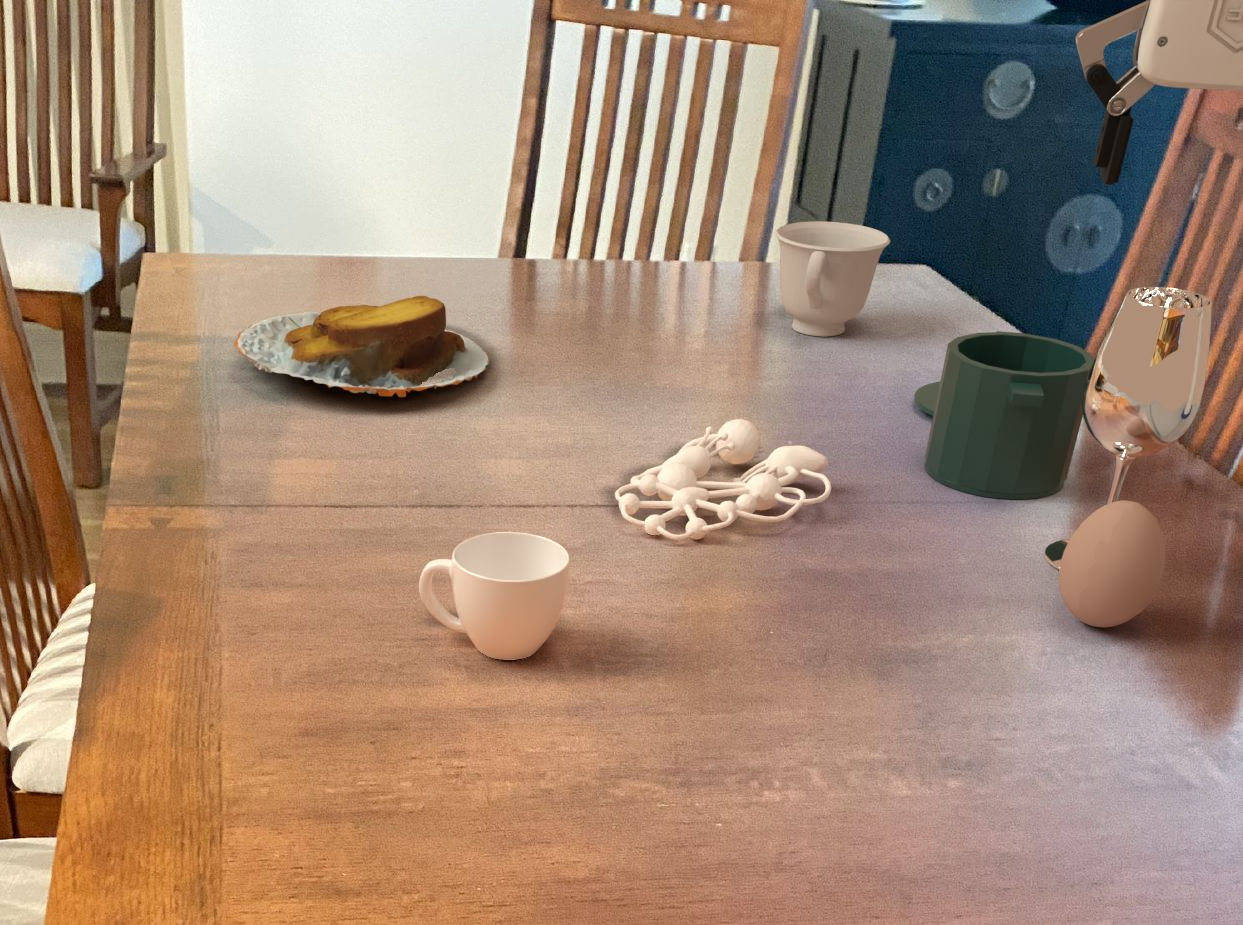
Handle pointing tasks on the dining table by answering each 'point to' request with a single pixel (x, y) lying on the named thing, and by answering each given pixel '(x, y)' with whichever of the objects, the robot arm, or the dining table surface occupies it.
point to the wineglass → (1146, 379)
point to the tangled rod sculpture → (756, 490)
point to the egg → (1112, 564)
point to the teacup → (826, 273)
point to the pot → (1007, 414)
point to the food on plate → (365, 347)
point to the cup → (502, 591)
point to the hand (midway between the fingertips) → (1188, 185)
